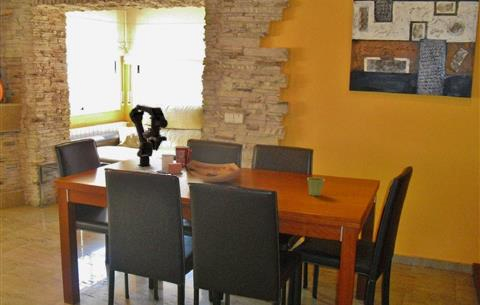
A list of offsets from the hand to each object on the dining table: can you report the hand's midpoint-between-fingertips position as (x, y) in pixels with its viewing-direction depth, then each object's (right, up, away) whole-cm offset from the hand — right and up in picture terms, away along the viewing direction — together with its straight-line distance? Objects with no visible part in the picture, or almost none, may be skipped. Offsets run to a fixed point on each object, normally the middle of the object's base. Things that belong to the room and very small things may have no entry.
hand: (155, 150), depth 318 cm
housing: (+11, -14, -11) cm, 21 cm away
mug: (+17, -11, +13) cm, 24 cm away
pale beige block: (+9, -13, -9) cm, 18 cm away
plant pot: (+95, -24, -55) cm, 113 cm away
